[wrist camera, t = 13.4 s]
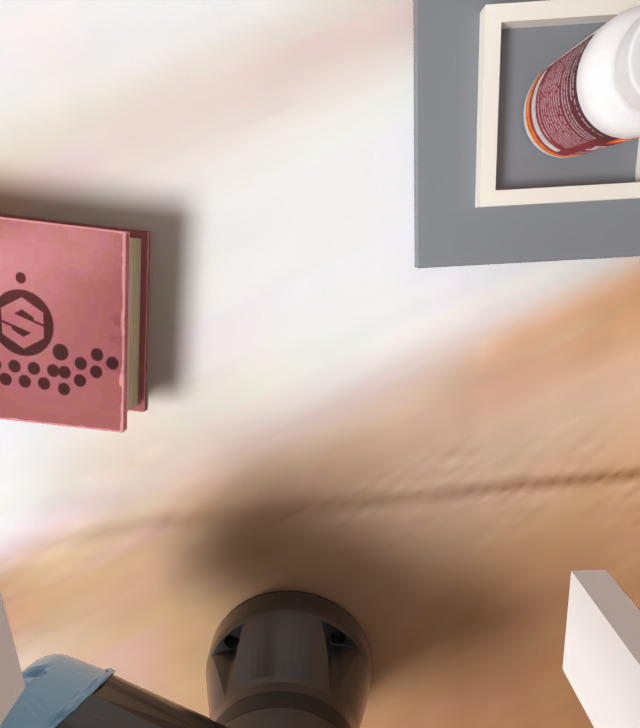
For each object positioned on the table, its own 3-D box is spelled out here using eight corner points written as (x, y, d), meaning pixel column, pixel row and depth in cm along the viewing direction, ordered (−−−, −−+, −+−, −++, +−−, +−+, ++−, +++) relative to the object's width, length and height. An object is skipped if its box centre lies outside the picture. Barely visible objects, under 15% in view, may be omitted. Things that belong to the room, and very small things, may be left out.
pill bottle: (560, 179, 34) (665, 155, 24) (501, 112, 33) (583, 56, 23) (632, 108, 33) (777, 49, 22) (573, 36, 32) (696, -62, 21)
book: (-51, 207, 37) (-108, 204, 32) (151, 231, 37) (125, 231, 33) (-38, 388, 41) (-86, 409, 36) (146, 409, 41) (123, 432, 36)
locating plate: (682, 252, 37) (709, 253, 34) (414, 266, 37) (421, 269, 35) (724, -65, 32) (759, -92, 29) (413, -44, 32) (421, -68, 30)
